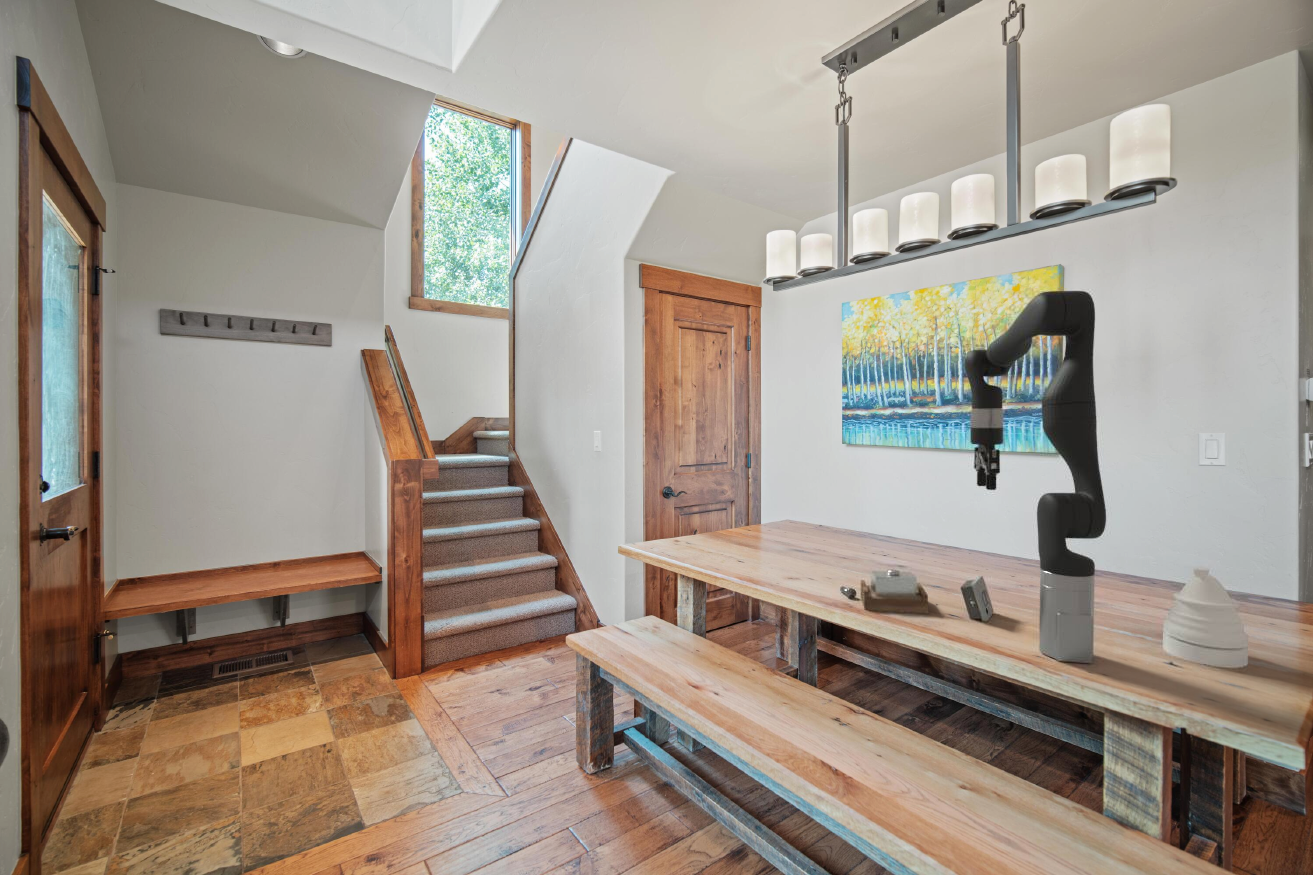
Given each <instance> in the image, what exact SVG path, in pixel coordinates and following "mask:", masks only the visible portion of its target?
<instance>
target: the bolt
mask: <svg viewBox="0 0 1313 875" xmlns="http://www.w3.org/2000/svg"><path fill="white" fill-rule="evenodd" d="M839 588H840V589H839V590H840V592H841V593H843V594H844V595H845V596H846V597H847V598H849V599H855V598H856V596H857V591H856V589H854V588H853V587H846V586H843V585H842V586H840V587H839Z"/></svg>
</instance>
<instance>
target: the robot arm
mask: <svg viewBox="0 0 1313 875" xmlns="http://www.w3.org/2000/svg"><path fill="white" fill-rule="evenodd" d="M1095 323H1096V310H1095V302H1094V300H1093V297H1092V296H1091V294H1090V293H1089V292H1087V291H1084V290H1051V291H1043V292H1040V293H1038V294H1037V295H1035V296H1034V297H1033V298H1032V299H1030V301H1029V302H1028V303H1027V304H1026V306H1025V307H1024V308H1023V309H1022V311H1021V312H1020V313H1019V314H1018V316H1016V319H1015V320H1014V321H1013V323H1012V324H1011V325H1010V327H1009V328H1008V329H1007V330H1006V331H1005V332H1003V333H1002V334H1001V335H1000V336H998V337H997V338H995V340H993V341H991V343H990V344H989V345H988V346H987V348H986V349H973V350H971V351H969V352H968V354H967V355H966V356H965V359H964V370H965V373H966V376H967V379H968V383H969V386H970V391H971V413H970V444H972V445H978V446H976V447H974V449H973V450H974V455H973V456H974V458H973V459H974V460H973V461H974V462H973V469H974V470H975V472H976V485H977V487H985V489H986V490H988V491H995V490H997V476H998V474H1000V472H1001V462H1000V461H1001V458H1000V457H1001V455H1000V453H1001V450H1000V449H996V445H997V446H998V445H1002V444H1003V443H1004V413H1003V389H1002V387H1000V386H998V385H991V384H989V383H987V381H986V380H985V378H986V377H992V378H993V377H1001V376H1004V375H1006V374H1008V373H1009V372H1010V370H1011V368H1012V366H1013V365H1014V363H1015V362H1016V361H1018V360H1020V359H1021V358H1022V357H1024V356H1025V355H1026V354H1028V352H1029V351H1030V350H1031V348H1032V345H1033V338H1034V337H1038V336H1046V337H1064V336H1065V337H1064V338H1065V349H1064V357H1063V360H1062V362H1061V364H1060V367H1059V368H1058V370H1057V372H1056V374H1055V375H1054V376H1053V377H1052V380H1051V381H1050V382H1049V384H1047V385H1048V386H1047V387H1046V388H1045V390H1044V393H1043V394H1042V398H1041V419H1042V429H1043V431H1044V434H1045V435H1046V436H1045V437H1046V438H1047V439H1048V440H1049V442H1050V443H1051V446H1053V447H1054V448H1055V451H1057V452H1058V454H1059V455H1060V456H1061V458H1062V459H1063V460H1064V462H1065V463H1066V465H1067V466H1068V469H1069V471H1070V473H1071V476H1072V480H1073V486H1074V492H1049V493H1048V492H1047V493H1044V494H1043V495H1041V497H1040V498H1039V500H1038V503H1037V506H1036V507H1037V510H1036V523H1037V524H1036V526H1037V541H1038V545H1037V547H1038V548H1037V550H1038V556H1039V562H1040V564H1039V569H1040V570H1039V572H1040V574H1039V627H1038V628H1039V630H1038V631H1039V633H1038V634H1039V635H1038V636H1039V642H1038V643H1039V644H1038V648H1039V651H1040V652H1041V653H1042V654H1044V655H1045V656H1048V657H1050V658H1052V659H1055V660H1056V661H1057V662H1071V663H1080V664H1081V663H1082V664H1093V662H1094V648H1095V647H1094V641H1095V640H1094V639H1095V638H1094V636H1095V634H1094V630H1095V584H1096V583H1095V580H1096V579H1095V577H1096V576H1095V574H1096V570H1095V569H1096V566H1095V562H1094V560H1093V559H1092V558H1090V557H1088V556H1086V555H1083V554H1080V553H1077V552H1074V551H1072V550H1071V549H1069V548H1068V546H1067V541H1066V539H1083V540H1084V539H1088V540H1090V539H1093V540H1094V539H1098V538H1100V537H1101V536H1102V535H1103V534H1104V531H1105V530H1106V524H1107V509H1106V503H1105V502H1106V501H1105V497H1104V496H1105V495H1104V490H1103V484H1102V477H1101V471H1100V464H1099V454H1098V452H1099V450H1098V436H1097V435H1098V434H1097V424H1098V422H1097V407H1096V406H1097V403H1096V394H1095V382H1094V378H1095V377H1094V346H1095V328H1096V325H1095ZM984 377H985V378H984Z"/></svg>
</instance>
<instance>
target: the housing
mask: <svg viewBox="0 0 1313 875" xmlns="http://www.w3.org/2000/svg"><path fill="white" fill-rule="evenodd" d="M916 583H917V576H915V574H913V573H912V572H911V571H899V570H897V569H887V571H884V570H871V571H870V586H871V590H872V592H873V593H874V594H875V596H903V597H916Z"/></svg>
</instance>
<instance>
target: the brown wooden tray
mask: <svg viewBox="0 0 1313 875" xmlns="http://www.w3.org/2000/svg"><path fill="white" fill-rule="evenodd" d="M860 598H861V602H862V605H863V610H865V611H881V612H882V611H883V612H894V611H900V612H899V613H909V612H912V614H924V615H925V614H927V615H928V614H929V601H928V600H929V596H928V593H927V592H926V590H925V588H924V587H923V586H922V584H921V583H920V582H916V597H903V596H875V594H874V593H873V592H872V590H871V585H868V584H867V583H866V581H865V580H864V579H860ZM901 611H903V612H901Z"/></svg>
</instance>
